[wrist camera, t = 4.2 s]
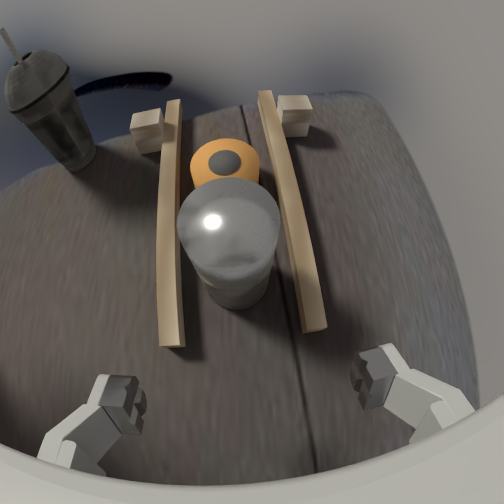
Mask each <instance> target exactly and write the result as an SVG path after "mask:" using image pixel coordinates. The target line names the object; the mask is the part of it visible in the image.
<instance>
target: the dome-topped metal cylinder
mask: <svg viewBox="0 0 504 504" xmlns="http://www.w3.org/2000/svg"><path fill="white" fill-rule="evenodd" d="M279 230H280V212H279V209H278V206H277V204H276V202H275V200H274V198H273V197H272V196H271V195H270V193H269V192H268V191H267V190H266V189H264V188H263V187H262V186H260V185H259V184H257V183H255V182H253V181H250V180H247V179H243V178H238V177H223V178H218V179H214V180H211V181H208V182H206V183H204V184H202V185H200V186H199V187H197V188H196V189H195V190H194V191H192V192H191V193H190V194H189V196H188V197H187V198H186V199H185V201H184V202H183V204H182V206H181V208H180V211H179V214H178V218H177V231H178V236H179V239H180V241H181V243H182V245H183V247H184V249H185V251H186V253H187V255H188V257H189V258H190V260H191V262H192V264H193V266H194V268H195V270H196V271H197V273H198V275H199V277H200V279H201V280H202V282H203V284H204V286H205V288H206V289H207V291H208V293H209V295H210V296H211V298H212V299H213V300H214V301H215V302H216V303H217V304H219V305H220V306H222V307H224V308H227V309H230V310H243V309H247V308H249V307H251V306H253V305H255V304H256V303H257V302H259V301H260V299H261V298H262V297H263V296H264V294H265V292H266V289H267V286H268V281H269V277H270V272H271V267H272V263H273V258H274V254H275V249H276V244H277V239H278V235H279Z"/></svg>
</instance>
